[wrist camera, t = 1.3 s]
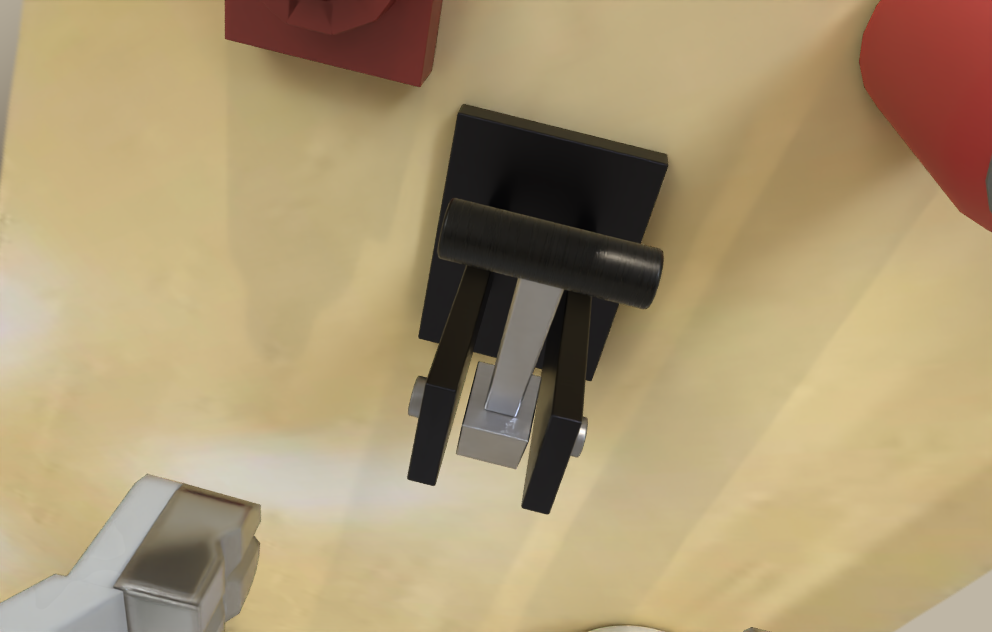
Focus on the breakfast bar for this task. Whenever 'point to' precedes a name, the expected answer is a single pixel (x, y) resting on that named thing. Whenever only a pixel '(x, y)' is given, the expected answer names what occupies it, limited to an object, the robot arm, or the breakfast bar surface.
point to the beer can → (937, 90)
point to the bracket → (488, 295)
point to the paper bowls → (625, 629)
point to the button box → (344, 33)
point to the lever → (533, 307)
